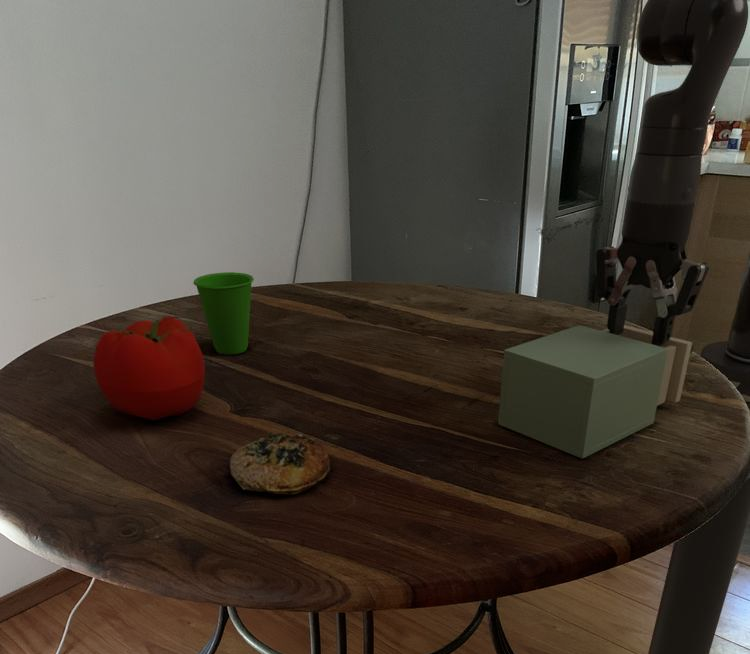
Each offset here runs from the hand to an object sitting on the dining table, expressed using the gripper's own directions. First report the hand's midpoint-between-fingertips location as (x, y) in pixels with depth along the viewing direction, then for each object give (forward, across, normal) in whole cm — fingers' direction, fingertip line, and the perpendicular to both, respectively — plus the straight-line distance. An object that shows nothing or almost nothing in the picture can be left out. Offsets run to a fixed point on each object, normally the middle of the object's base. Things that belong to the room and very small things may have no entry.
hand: (636, 339), depth 93 cm
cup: (+9, +54, +28) cm, 61 cm away
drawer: (+8, 0, 0) cm, 8 cm away
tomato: (+9, +39, +48) cm, 62 cm away
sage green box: (+8, 0, +11) cm, 14 cm away
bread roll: (+9, +13, +46) cm, 49 cm away
